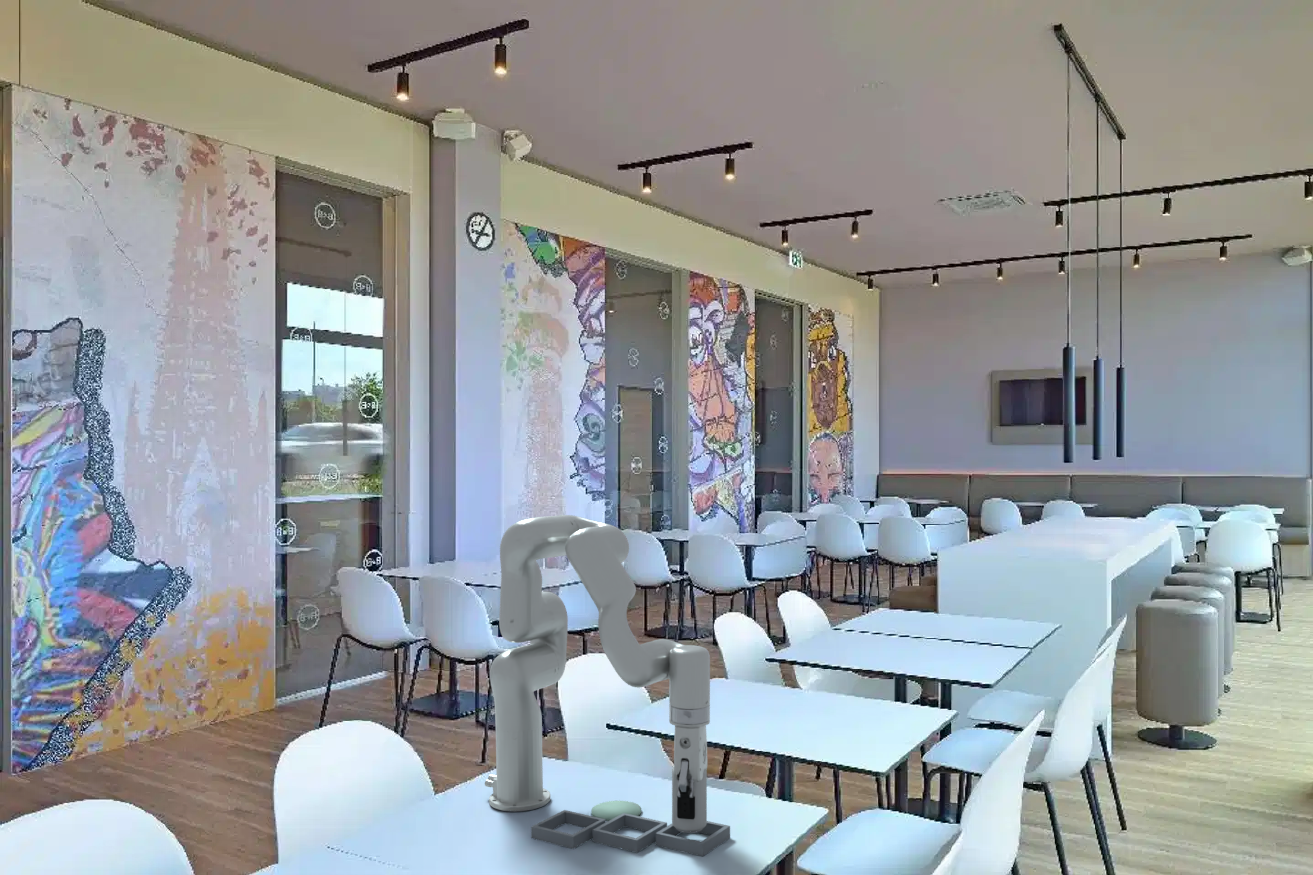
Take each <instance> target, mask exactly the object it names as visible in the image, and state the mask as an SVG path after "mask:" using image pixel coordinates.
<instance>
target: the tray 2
mask: <svg viewBox="0 0 1313 875" xmlns="http://www.w3.org/2000/svg"><path fill="white" fill-rule="evenodd" d="M667 826H668V822H667V821H662V820H658V819H657V820H656V819H653V818H647V817H643V816H640V815H639V816H635V815H631V814H626V813H623V814H621V815H619V816H617V817H615V818H613V819H612V820H610V821H606V823H604V824H602V825H601V826H599V827H597V828H595V829H593V838H592V842H593V843H595V844H600V845H604V846H607V847H608V846H609V847H613V848H617V849H620V848H622V849H621V850H624V849H625V851H628V850H629V851H628V852H632V851H633V853H639V852H641V851H642V850H645V849H646V848H647V847H649V846H651V845H652V844H654V843H656V833H657V832H658V831H660V830H662V829H663V828H665V827H667ZM625 827H626V828H629V829H633V828H635V829H634V830H639V831H642V832H644V833H642V834H641V835H639V836H637V837H633V836H629V835H626V834H625V835H624V834H620V833H616V832H617V831H619V829H620V830H621V829H624V828H625Z"/></svg>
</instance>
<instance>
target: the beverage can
mask: <svg viewBox="0 0 1313 875" xmlns="http://www.w3.org/2000/svg"><path fill="white" fill-rule="evenodd" d="M707 771H708V770H707V769H706V768H705V769H704V772H703V778H702V780H701V781H700V782H697V781H696V780H694V794H693V796H695V818H694V819H693V820H692V819H679V818H678V817H677V796H678V782H679V780H678V781H677V780H676V779H675V776H674V766H673V768H672V769H671V824H672V825H673V826H674V827H675V828H676V829H677V830H678V831H681V833H685V834H686V833H687V834H694V833H698V832H699V831H701V830H702V829H703V828H704V827H705V826H706V824H707V821H708V820H707V819H708V817H707V816H708V815H707V814H708V812H707V810H708V807H707V806H708V805H707V803H708V802H707V798H708V797H707V795H708V794H707V792H708V791H707V789H708V788H707V787H708V786H707V784H708V783H707V780H708V779H707ZM677 775H679V774H677ZM687 779H692V776H691V775H688V777H687ZM687 786H689V787H690V783H687Z"/></svg>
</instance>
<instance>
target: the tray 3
mask: <svg viewBox="0 0 1313 875" xmlns="http://www.w3.org/2000/svg"><path fill="white" fill-rule="evenodd" d="M697 833H699V834H703V835H707V836H708V837H706V838H704V839H703V840H701V841H699V840H695V839H690V838H687V837H681V836H678V835H680V834H682V832H681V831H678V830H677V829H676V828H675V827H674V826H673V825H672V823H670V824H669V825H668V824H667V827H665V828H663V829H662V830H660V831H658V832H657V833H656V842H655V846H657V847H661V848H666V849H670V850H674V851H678V852H682V853H687V854H691V855H694V856H699V857H705V856H706V855H707V854H709V853H710V852H712V851H713V850H715V849H716V848H718V847H720V846H721V845H722V844H724V843H725V842H726V841H729V839H731V825H726V824H723V823H718V822H714V821H709V820H707V824H706V826H705V827H704V828H703V829H702V830H701V831H699V832H697ZM714 848H715V849H714Z"/></svg>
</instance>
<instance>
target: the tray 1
mask: <svg viewBox="0 0 1313 875" xmlns="http://www.w3.org/2000/svg"><path fill="white" fill-rule="evenodd" d="M606 822H607V821H606V819H602V818H598V817H593V816H592V815H588V814H584V813H580V812H577V811H576V812H574V811H571V810H567V809H564V810H561V811H559V812H558V813H555V814H554V815H551V816H550V817H547V818H545V819H543V820H541V821H540V822H537V823H535V824H534V825H531V826H530V834H531V836H530V838H531V839H532V838H533V840H536V839H537V841H541V842H545V843H547V844H552V845H555V846H560V847H563V848H568V849H573V850H574V849H576V848H578V847H580V846H581V845H583V844H585V843H587V842H589V841H591V840H593V829H595V828H597V827H599V826H601V825H602V824H604V823H606ZM565 824H566V825H570V826H575V827H580V828H583V829H580V830H579V831H576V832H574V833H573V834H572V833H568V832H563V831H559V830H555V829H557V828H559V827H561V826H563V825H565Z"/></svg>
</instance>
